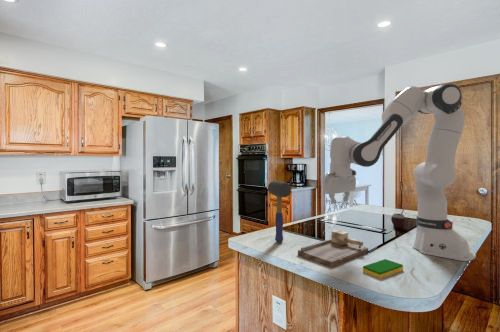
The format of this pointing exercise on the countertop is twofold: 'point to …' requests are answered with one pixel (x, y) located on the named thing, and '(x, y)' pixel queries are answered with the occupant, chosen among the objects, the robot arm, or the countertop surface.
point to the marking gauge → (343, 238)
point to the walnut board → (331, 252)
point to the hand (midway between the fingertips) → (339, 202)
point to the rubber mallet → (279, 205)
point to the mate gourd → (398, 220)
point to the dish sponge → (382, 268)
